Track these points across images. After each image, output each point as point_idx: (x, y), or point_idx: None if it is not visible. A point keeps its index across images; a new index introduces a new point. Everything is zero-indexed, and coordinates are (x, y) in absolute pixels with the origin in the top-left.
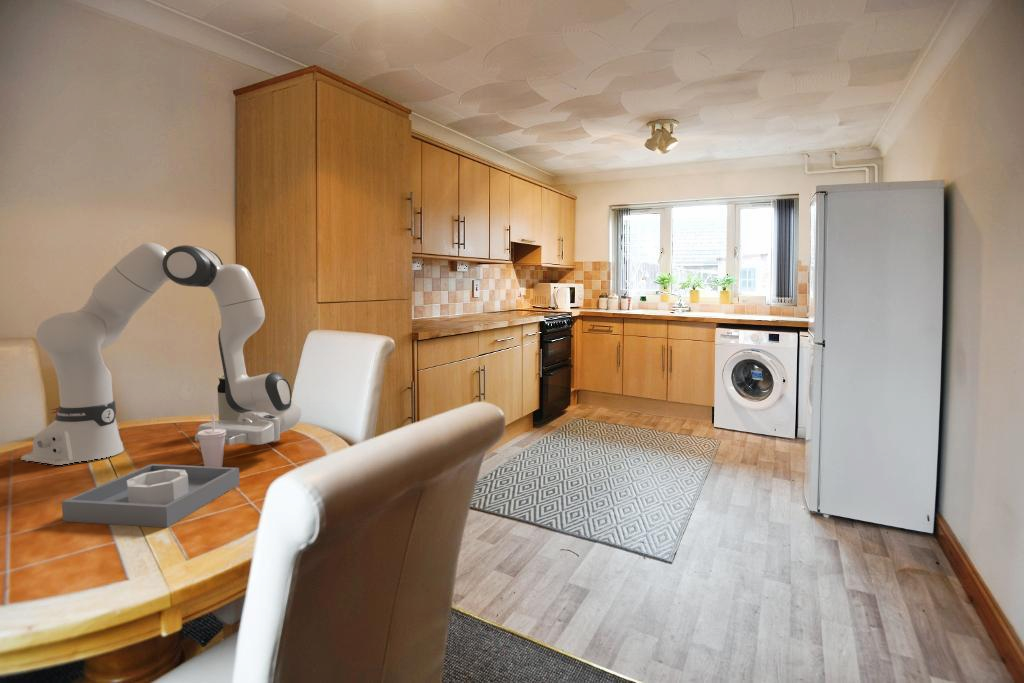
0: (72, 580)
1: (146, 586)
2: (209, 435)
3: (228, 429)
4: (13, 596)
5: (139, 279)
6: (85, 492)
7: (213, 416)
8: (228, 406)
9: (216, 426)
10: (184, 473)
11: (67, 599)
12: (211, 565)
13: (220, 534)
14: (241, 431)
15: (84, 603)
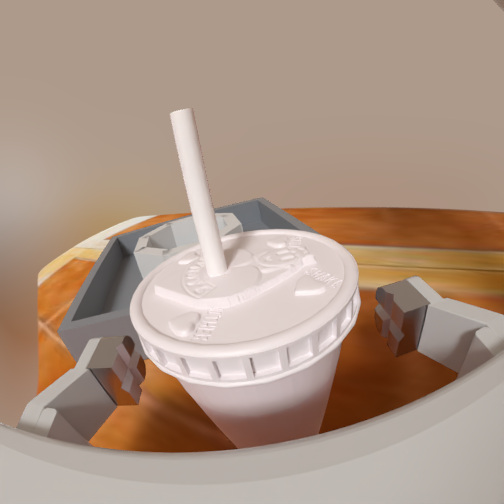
0: (141, 226)
1: (88, 242)
2: (185, 251)
3: (233, 449)
4: (163, 215)
5: None
6: (268, 204)
7: (175, 129)
8: None
9: (496, 380)
10: (147, 251)
11: (127, 225)
12: (56, 261)
13: (60, 277)
14: (47, 437)
15: (114, 229)
